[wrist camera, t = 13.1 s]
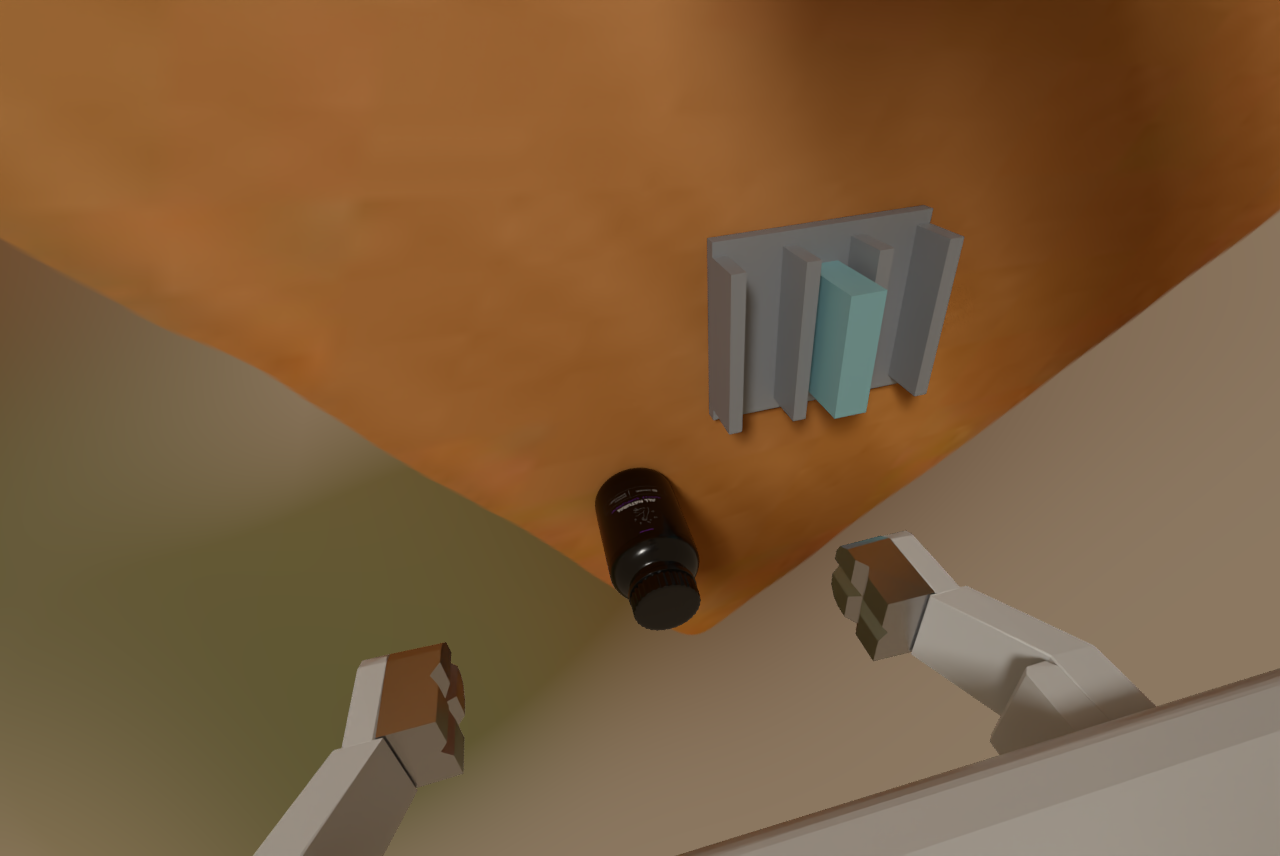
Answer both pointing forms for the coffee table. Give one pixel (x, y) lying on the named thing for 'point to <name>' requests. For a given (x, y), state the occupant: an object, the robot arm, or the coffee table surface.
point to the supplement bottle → (648, 548)
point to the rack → (788, 296)
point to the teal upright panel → (845, 339)
